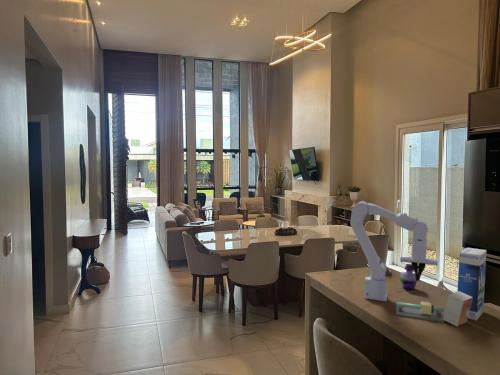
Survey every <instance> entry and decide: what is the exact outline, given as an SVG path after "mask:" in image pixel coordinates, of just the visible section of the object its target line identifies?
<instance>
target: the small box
mask: <svg viewBox="0 0 500 375" xmlns="http://www.w3.org/2000/svg"><path fill="white" fill-rule="evenodd" d="M472 300H473V297H471V296H469V295H467V294H464V293H462V292H460V291H455V292H453V293H450V294H448V295H447V300H446V305H445V309H444V312H443V320H445V322H447V323H448V324H451V325H452V326H455V327H456V328H457V327H460V326H461V325H463V324H465V323H467V322H468V320H469V319H468V315H469V311H470V307H471V304H472Z"/></svg>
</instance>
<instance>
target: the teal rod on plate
mask: <svg viewBox="0 0 500 375" xmlns="http://www.w3.org/2000/svg"><path fill="white" fill-rule="evenodd" d="M431 306H432V308H431V315H428V314H421V311H420V309H421V305H420V304H414V303H408V302H399V301H396V306H395V311H396V312H395V314H396V315H395V316H398V317H403V318H404V317H405V318H412V319H418V320H425V321H431V322H439V323H446V321H445V320H443V316H444V314H443V313H444V312H445V309H444V308H443V307H438V306H437V307H435V306H434V304H431Z"/></svg>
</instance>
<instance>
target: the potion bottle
mask: <svg viewBox="0 0 500 375" xmlns="http://www.w3.org/2000/svg"><path fill="white" fill-rule="evenodd" d="M404 270H405V271H404V272H403V271H402V272H400V273H399V275H400V276H399V277H400V282H401V284H402V289H404V290H407V289H408V290H407V291H415V290H416V285H417V283H418V281H417V280H416V276H415V272H414V269H413V267H412V264H411V263H406V264H405V266H404ZM414 289H415V290H414Z"/></svg>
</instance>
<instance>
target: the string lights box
mask: <svg viewBox="0 0 500 375" xmlns="http://www.w3.org/2000/svg"><path fill="white" fill-rule="evenodd" d="M486 265H487V249H481V248H480V249H479V248H472V247H466V248H465V249H464V248H463V250H461V251H459V256H458V274H457V291H460V292H462V293H464V294H467V295H469V296H471V297H473V300H472V304H471V307H470V311H469V315H468V319H467V320H473V321H478V319H479V318H480V317H481V315H483V313H484V306H485V304H484V303H485V285H486V268H487V266H486ZM457 291H456V292H457Z"/></svg>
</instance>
